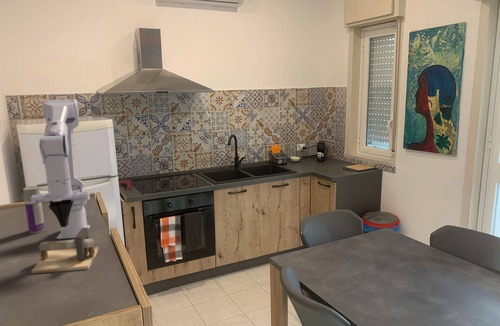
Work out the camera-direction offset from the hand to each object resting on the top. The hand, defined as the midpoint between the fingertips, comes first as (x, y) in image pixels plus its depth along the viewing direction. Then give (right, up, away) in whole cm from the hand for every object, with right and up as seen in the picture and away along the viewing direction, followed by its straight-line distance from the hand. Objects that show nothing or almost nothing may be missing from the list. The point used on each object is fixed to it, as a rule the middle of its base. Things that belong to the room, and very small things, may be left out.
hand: (64, 225), depth 103 cm
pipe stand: (+1, -10, -1) cm, 10 cm away
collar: (+5, -8, 0) cm, 10 cm away
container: (-20, -5, +20) cm, 29 cm away
